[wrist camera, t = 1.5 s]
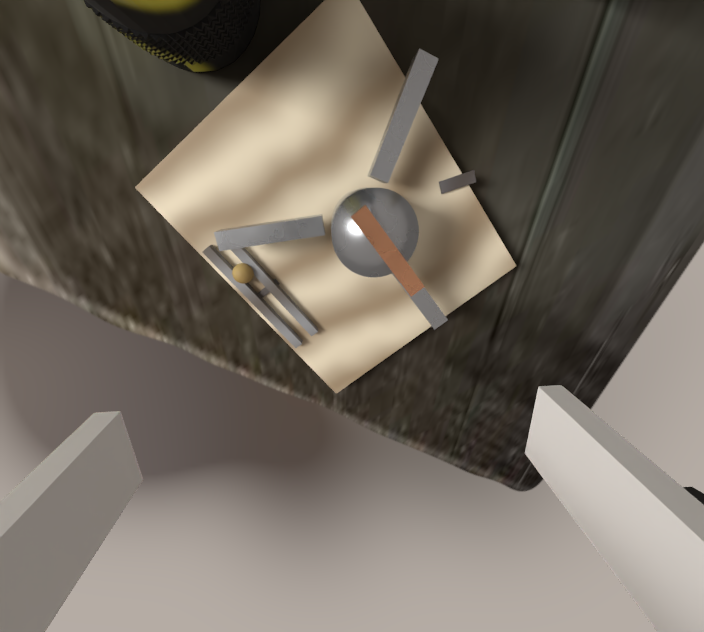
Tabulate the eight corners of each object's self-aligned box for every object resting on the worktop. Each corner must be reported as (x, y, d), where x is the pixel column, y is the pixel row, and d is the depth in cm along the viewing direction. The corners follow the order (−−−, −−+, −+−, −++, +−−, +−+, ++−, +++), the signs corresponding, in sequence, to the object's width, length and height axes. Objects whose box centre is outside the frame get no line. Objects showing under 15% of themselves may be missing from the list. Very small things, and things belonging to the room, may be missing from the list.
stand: (147, 187, 29) (121, 187, 25) (354, -15, 25) (358, -49, 21) (335, 383, 37) (336, 403, 33) (513, 256, 33) (535, 264, 29)
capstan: (224, 231, 28) (190, 245, 21) (412, 64, 25) (444, 16, 18) (347, 365, 34) (352, 410, 27) (516, 243, 30) (571, 260, 23)
